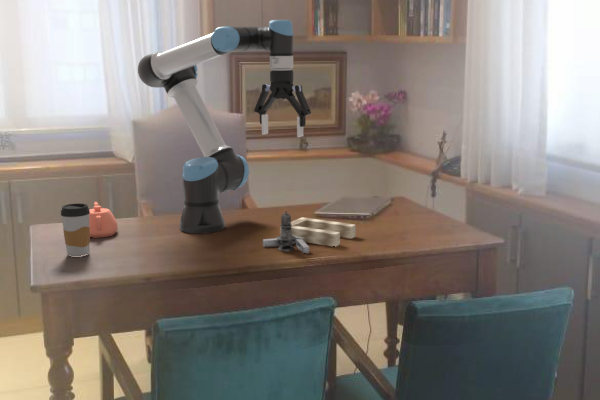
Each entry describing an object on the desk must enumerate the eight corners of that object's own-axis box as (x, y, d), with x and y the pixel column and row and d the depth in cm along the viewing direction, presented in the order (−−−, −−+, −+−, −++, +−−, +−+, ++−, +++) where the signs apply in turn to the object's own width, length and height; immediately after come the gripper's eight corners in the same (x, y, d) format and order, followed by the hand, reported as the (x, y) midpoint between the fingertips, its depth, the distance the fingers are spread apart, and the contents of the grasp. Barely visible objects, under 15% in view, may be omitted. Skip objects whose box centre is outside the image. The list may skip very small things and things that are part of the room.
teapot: (80, 242, 237) (78, 213, 235) (79, 228, 253) (77, 201, 251) (119, 238, 240) (117, 210, 238) (116, 225, 257) (114, 198, 255)
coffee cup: (82, 249, 228) (78, 201, 225) (98, 254, 223) (95, 205, 220) (58, 255, 222) (54, 206, 219) (74, 260, 217) (70, 210, 214)
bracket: (280, 238, 239) (280, 226, 238) (302, 228, 250) (302, 217, 249) (335, 246, 229) (335, 234, 228) (355, 236, 240) (355, 224, 239)
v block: (277, 239, 238) (277, 233, 238) (323, 246, 230) (323, 240, 229) (260, 246, 230) (260, 240, 229) (307, 254, 221) (307, 247, 221)
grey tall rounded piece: (293, 252, 224) (293, 213, 221) (274, 251, 225) (274, 212, 222) (297, 246, 229) (297, 208, 227) (279, 245, 230) (278, 208, 228)
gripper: (242, 69, 241) (244, 134, 246) (309, 70, 228) (309, 139, 233) (255, 68, 247) (257, 131, 252) (321, 69, 235) (321, 136, 239)
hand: (282, 135), depth 243 cm, fingers open, 13 cm apart
